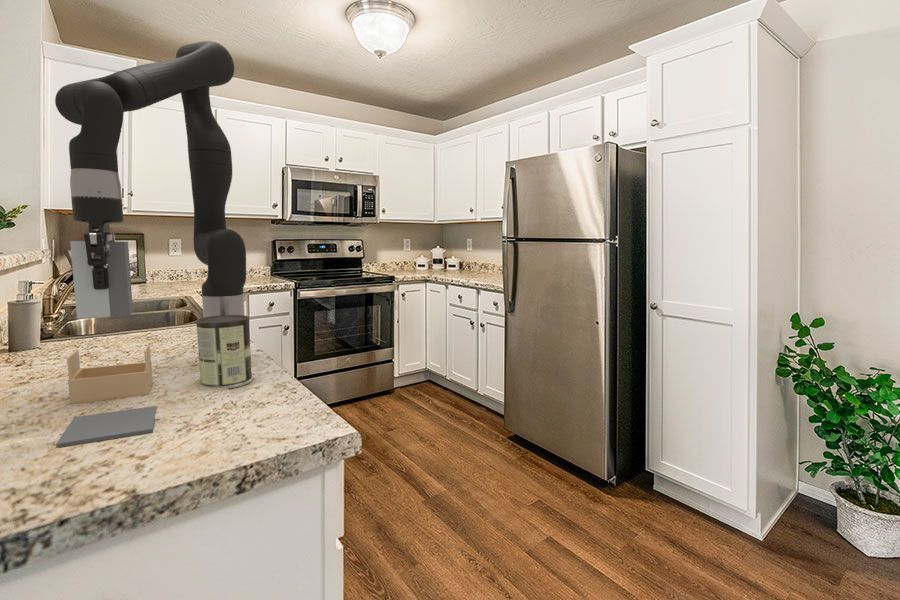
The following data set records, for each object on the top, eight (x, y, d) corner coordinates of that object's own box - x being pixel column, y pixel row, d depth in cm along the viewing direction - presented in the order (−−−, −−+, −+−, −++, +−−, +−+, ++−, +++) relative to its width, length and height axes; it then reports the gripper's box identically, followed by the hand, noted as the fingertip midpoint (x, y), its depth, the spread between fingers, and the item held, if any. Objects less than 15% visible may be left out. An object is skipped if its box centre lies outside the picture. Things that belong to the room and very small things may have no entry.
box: (133, 312, 93) (128, 241, 92) (129, 315, 89) (124, 241, 87) (83, 314, 90) (76, 241, 88) (76, 318, 85) (70, 241, 84)
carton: (152, 384, 100) (149, 342, 99) (149, 396, 92) (145, 352, 91) (81, 392, 94) (77, 348, 93) (70, 407, 86) (65, 359, 85)
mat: (157, 408, 85) (157, 405, 85) (152, 432, 75) (152, 428, 75) (74, 420, 80) (74, 417, 79) (56, 447, 69) (56, 443, 69)
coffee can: (226, 374, 108) (223, 313, 106) (262, 378, 105) (259, 316, 103) (188, 386, 98) (183, 320, 96) (226, 392, 95) (223, 323, 93)
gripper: (115, 194, 82) (122, 290, 84) (126, 200, 95) (133, 284, 97) (61, 191, 79) (70, 292, 81) (80, 198, 91) (87, 285, 93)
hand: (104, 287), depth 89 cm, fingers closed on box, 5 cm apart
